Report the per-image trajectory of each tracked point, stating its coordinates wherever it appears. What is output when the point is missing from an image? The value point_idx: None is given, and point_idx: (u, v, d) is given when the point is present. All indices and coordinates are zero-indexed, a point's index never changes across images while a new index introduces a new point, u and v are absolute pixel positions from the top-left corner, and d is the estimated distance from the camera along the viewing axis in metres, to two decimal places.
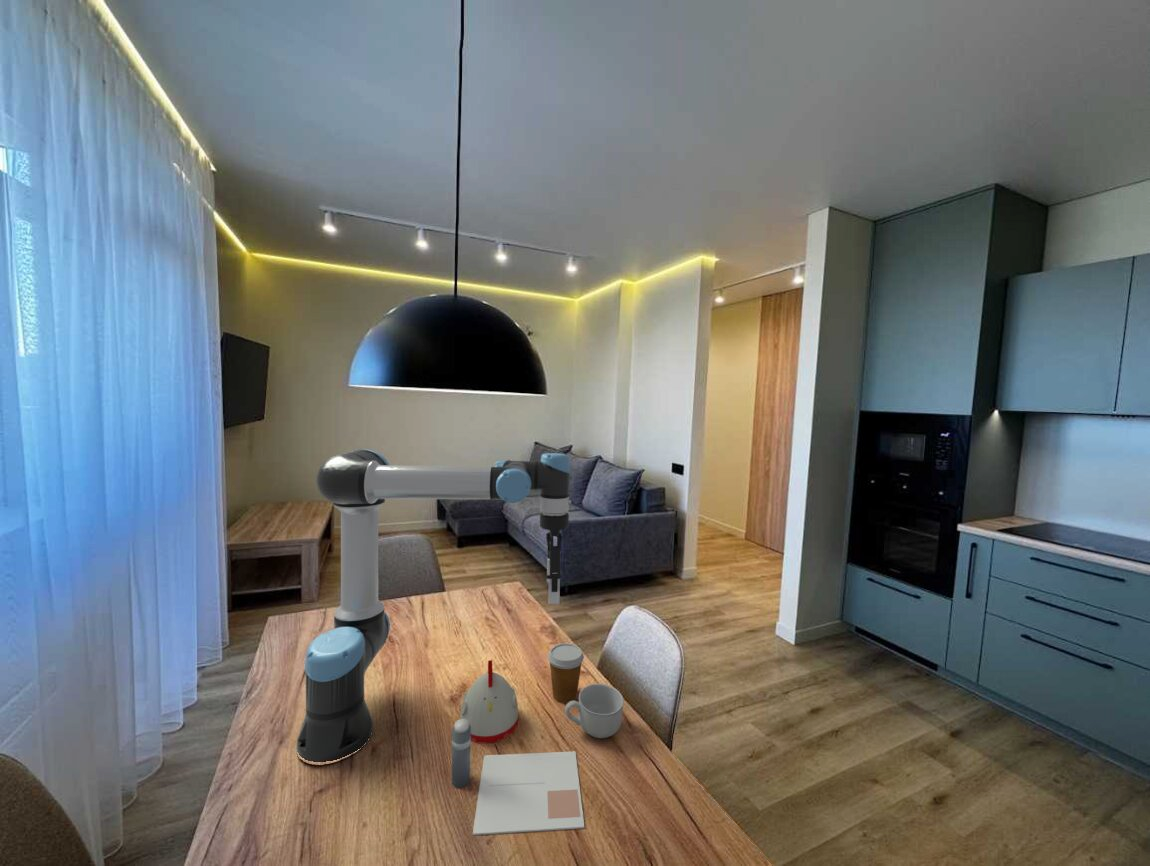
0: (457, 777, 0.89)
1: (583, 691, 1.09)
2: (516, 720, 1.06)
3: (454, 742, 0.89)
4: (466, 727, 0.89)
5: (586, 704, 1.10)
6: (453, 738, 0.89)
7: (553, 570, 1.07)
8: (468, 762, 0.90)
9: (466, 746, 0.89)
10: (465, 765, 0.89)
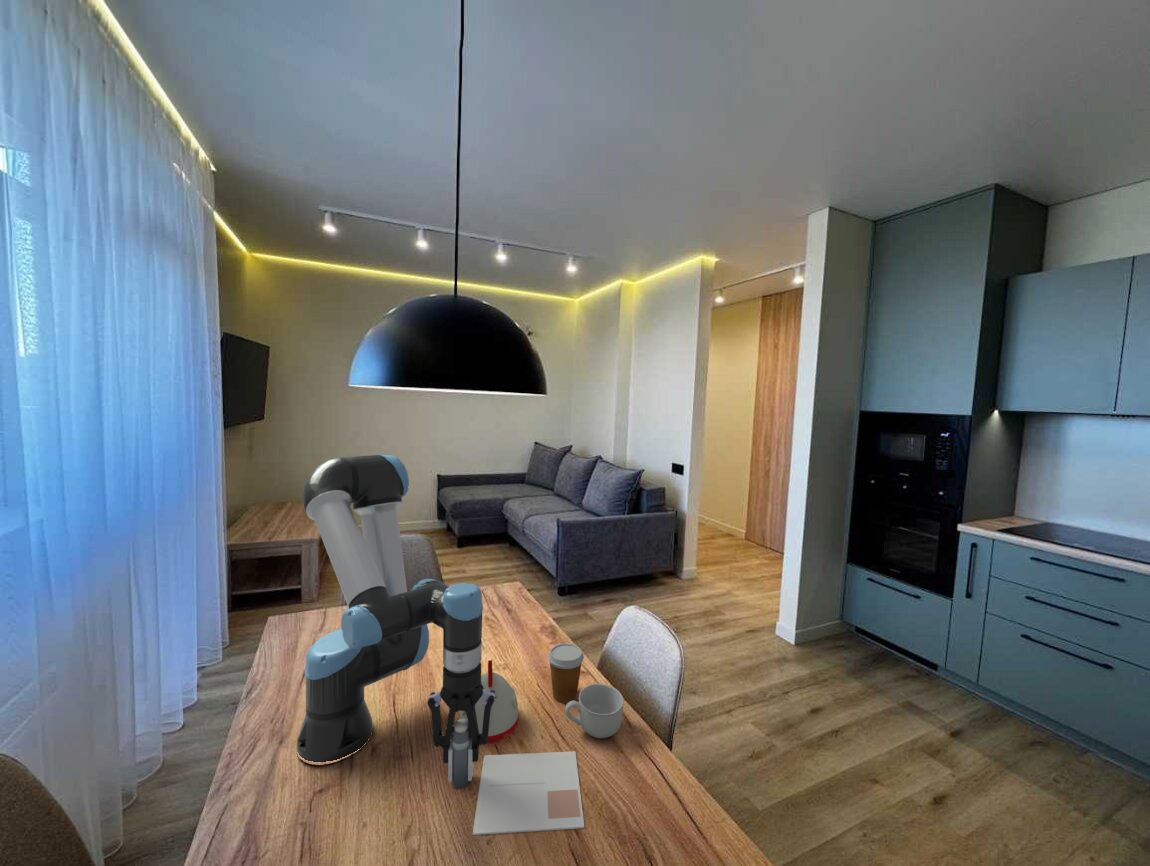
0: (457, 777, 0.89)
1: (583, 691, 1.09)
2: (516, 720, 1.06)
3: (454, 742, 0.89)
4: (466, 727, 0.89)
5: (586, 704, 1.10)
6: (453, 738, 0.89)
7: None
8: None
9: (466, 746, 0.89)
10: (465, 764, 0.89)
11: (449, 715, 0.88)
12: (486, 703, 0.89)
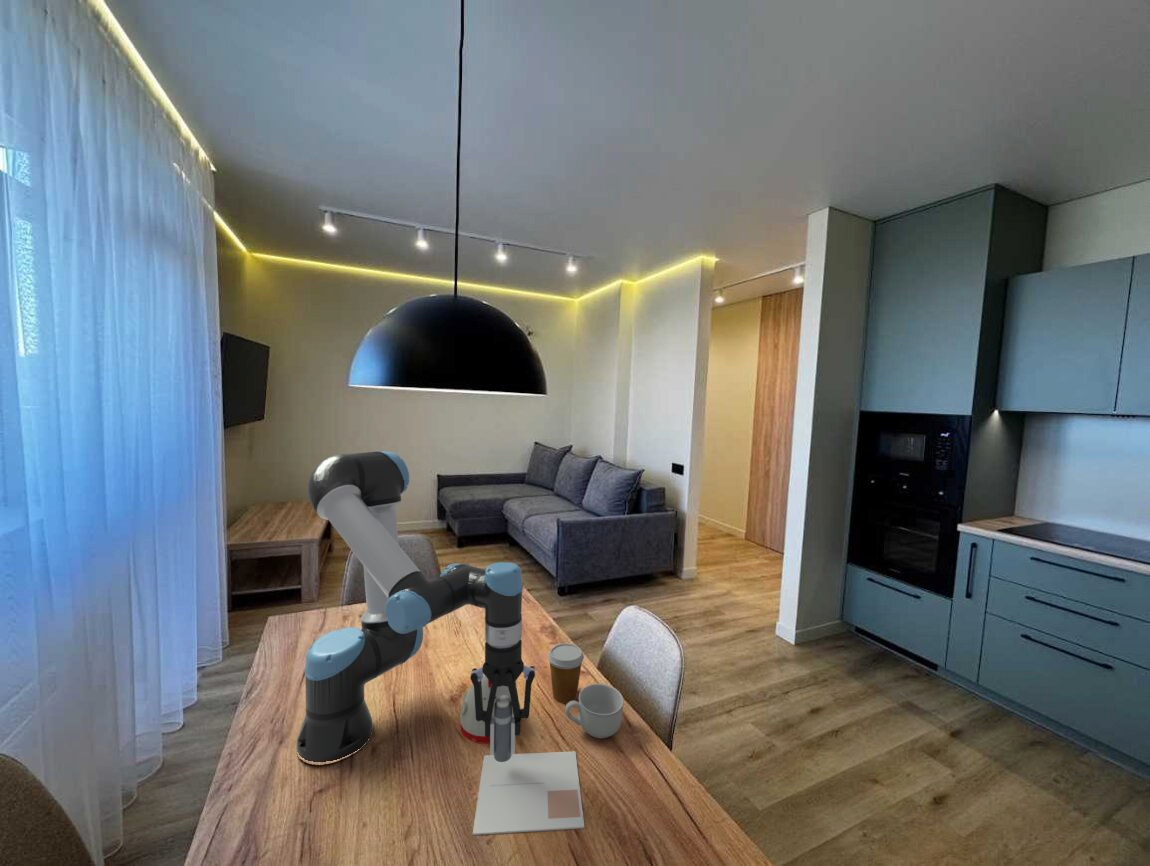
0: (500, 751, 0.91)
1: (583, 691, 1.09)
2: None
3: (497, 717, 0.91)
4: (508, 702, 0.92)
5: (586, 704, 1.10)
6: (495, 713, 0.91)
7: None
8: (510, 737, 0.92)
9: (508, 721, 0.91)
10: (507, 739, 0.91)
11: (491, 690, 0.90)
12: (527, 678, 0.92)
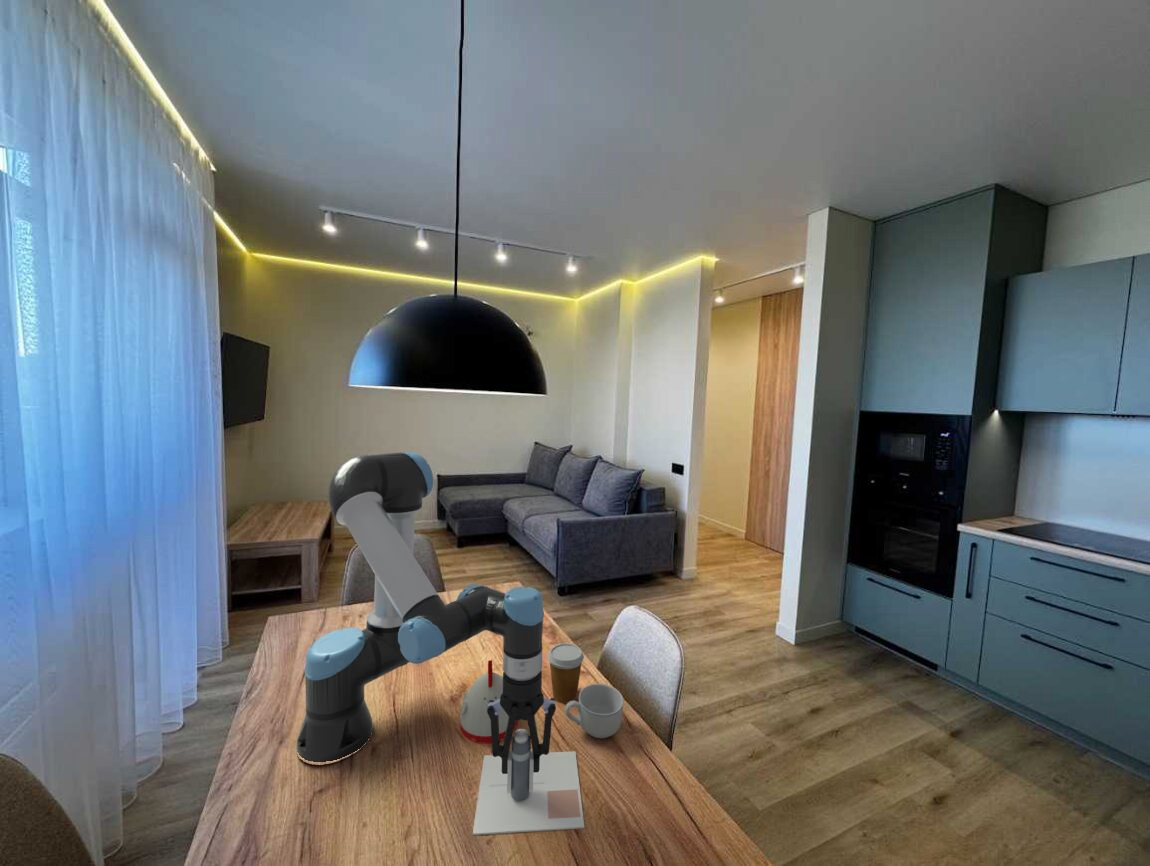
0: (517, 789, 0.85)
1: (583, 691, 1.09)
2: None
3: (515, 753, 0.85)
4: (526, 737, 0.86)
5: (586, 704, 1.10)
6: (513, 749, 0.85)
7: None
8: (528, 774, 0.86)
9: (527, 757, 0.85)
10: (525, 777, 0.86)
11: (509, 724, 0.85)
12: (547, 712, 0.86)
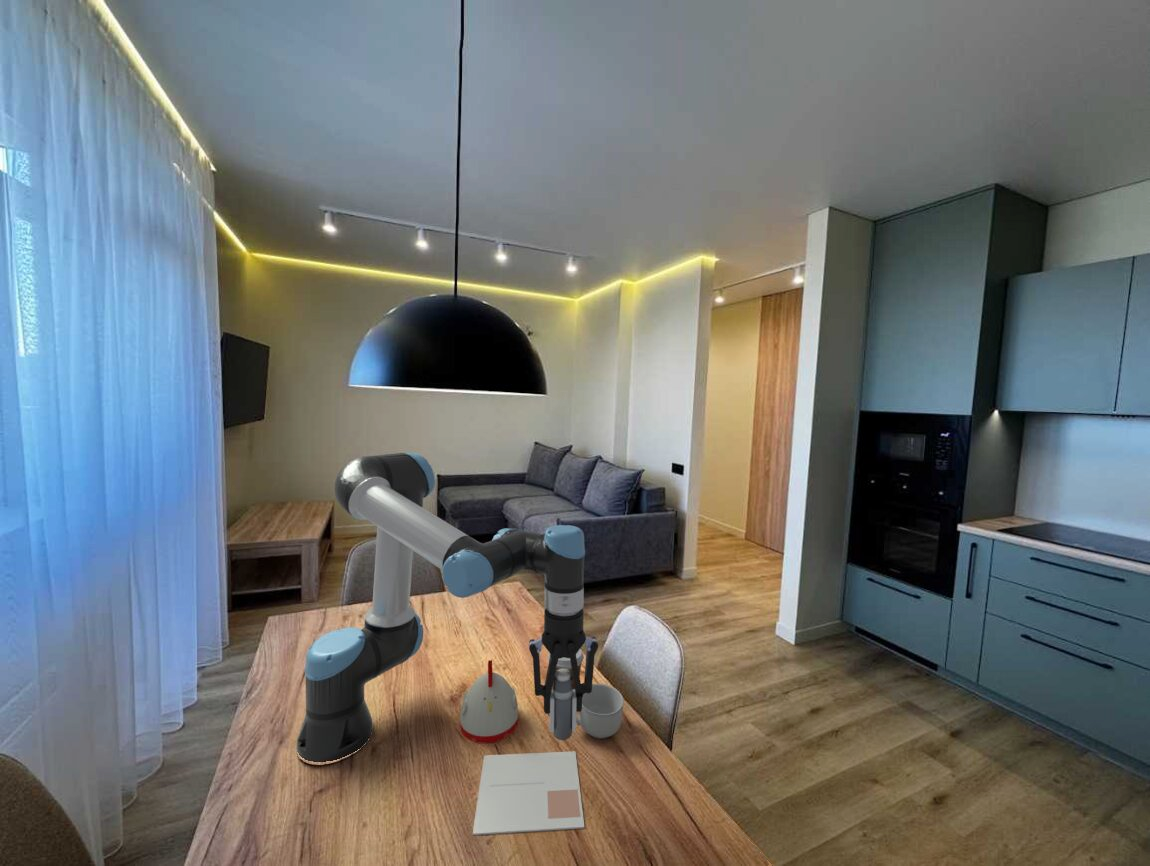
0: (560, 728, 0.84)
1: None
2: (516, 720, 1.06)
3: (557, 691, 0.84)
4: (569, 676, 0.85)
5: (586, 704, 1.10)
6: (556, 687, 0.84)
7: None
8: (571, 713, 0.85)
9: (569, 696, 0.84)
10: (568, 715, 0.84)
11: (552, 662, 0.83)
12: (590, 649, 0.85)
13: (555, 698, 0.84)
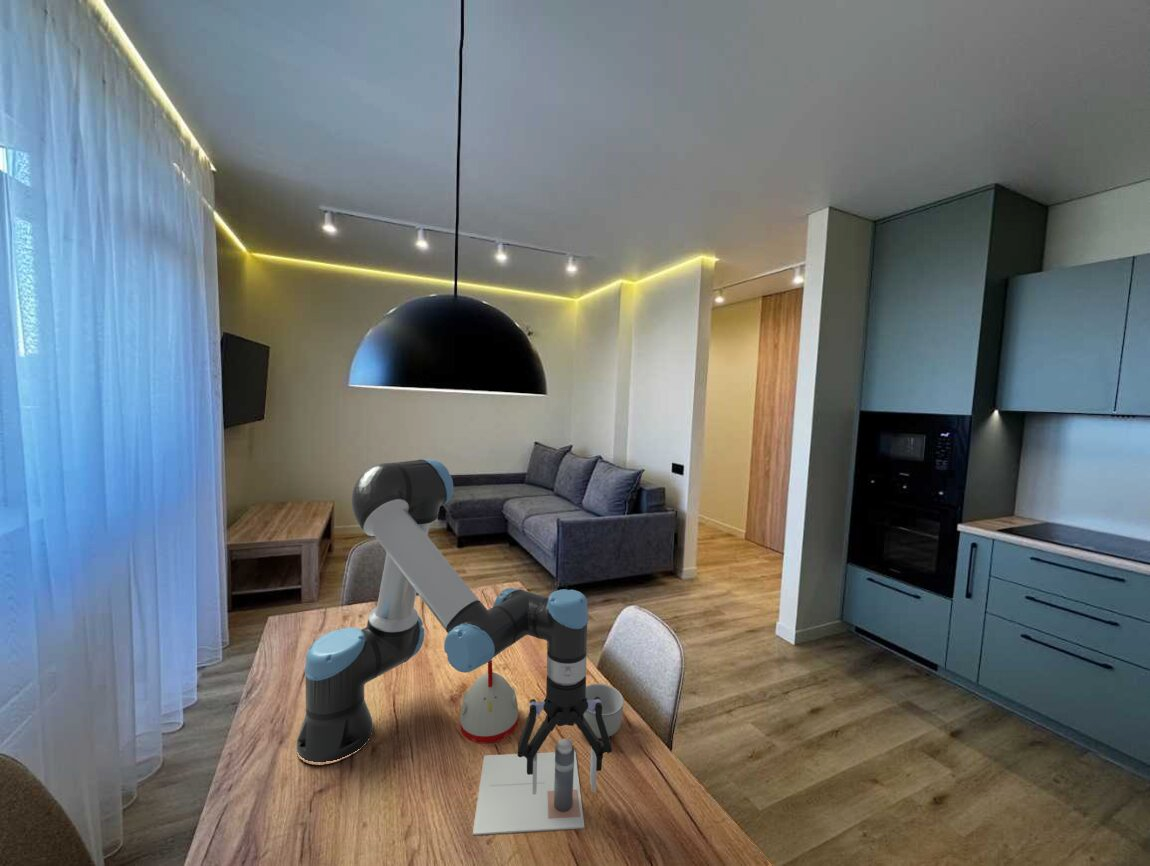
0: (561, 800, 0.83)
1: None
2: (516, 720, 1.06)
3: (559, 764, 0.83)
4: (570, 748, 0.84)
5: None
6: (557, 759, 0.84)
7: (520, 740, 0.84)
8: (572, 785, 0.84)
9: (571, 768, 0.84)
10: (569, 787, 0.84)
11: (548, 727, 0.83)
12: (595, 712, 0.84)
13: (556, 770, 0.84)
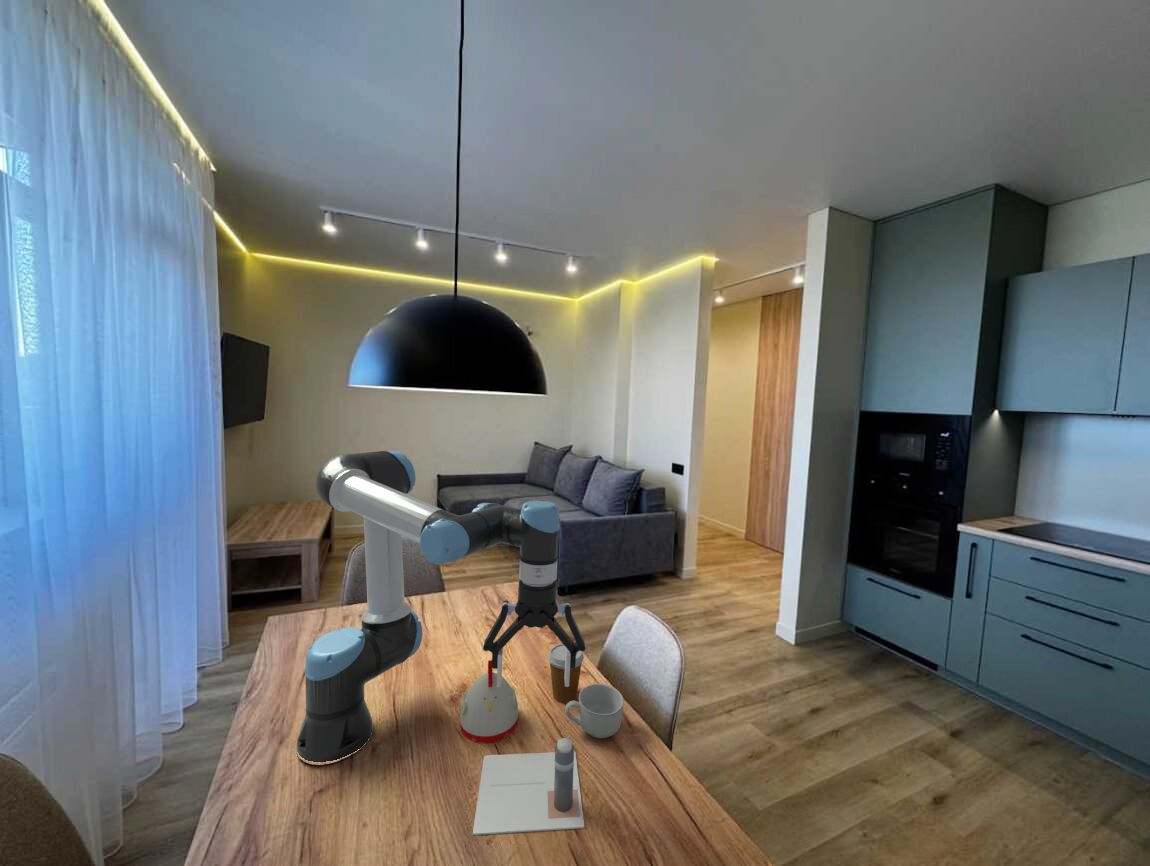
0: (561, 800, 0.84)
1: (583, 691, 1.09)
2: (516, 720, 1.06)
3: (558, 763, 0.83)
4: (570, 747, 0.84)
5: (586, 704, 1.10)
6: (557, 759, 0.84)
7: (487, 637, 0.89)
8: (572, 784, 0.85)
9: (571, 767, 0.84)
10: (569, 787, 0.84)
11: (517, 626, 0.87)
12: (565, 614, 0.88)
13: (556, 769, 0.84)
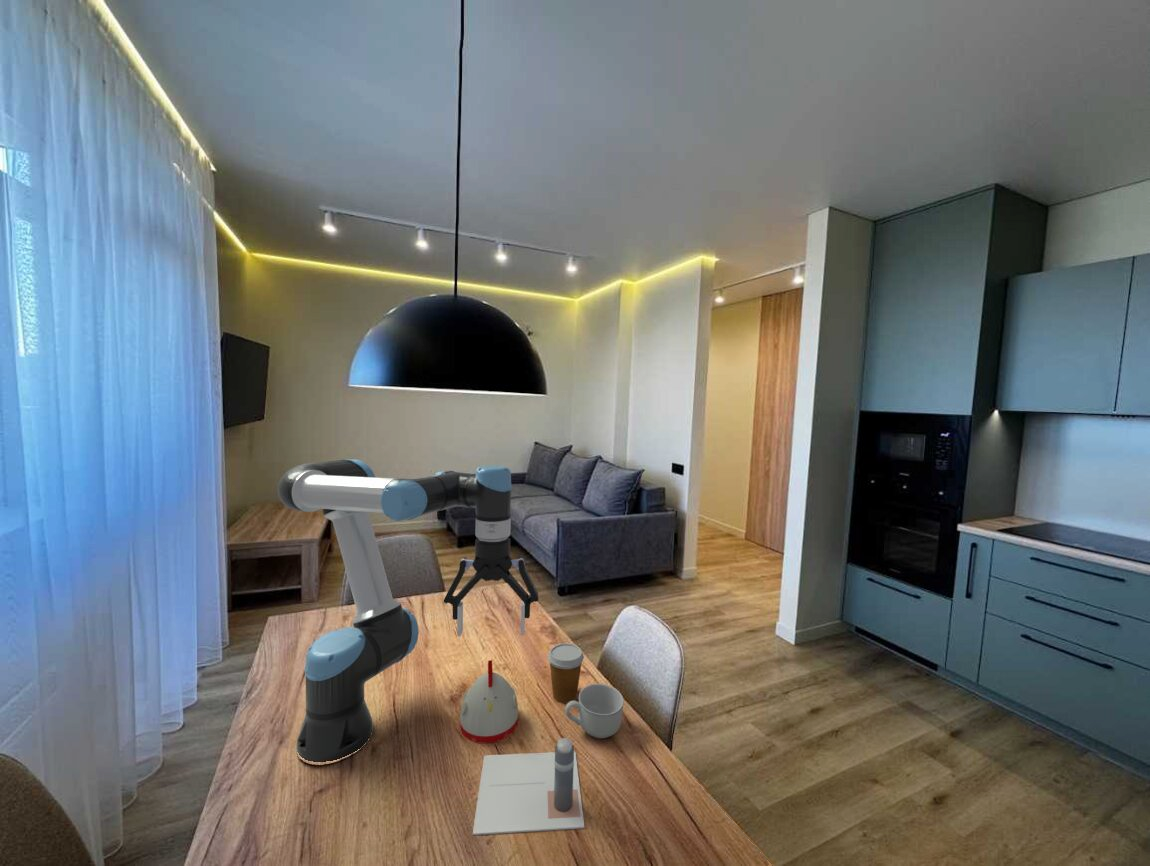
0: (561, 800, 0.84)
1: (583, 691, 1.09)
2: (516, 720, 1.06)
3: (558, 763, 0.83)
4: (570, 747, 0.84)
5: (586, 704, 1.10)
6: (557, 759, 0.84)
7: None
8: (572, 784, 0.85)
9: (571, 767, 0.84)
10: (569, 787, 0.84)
11: (474, 579, 0.95)
12: (518, 567, 0.96)
13: (556, 769, 0.84)
